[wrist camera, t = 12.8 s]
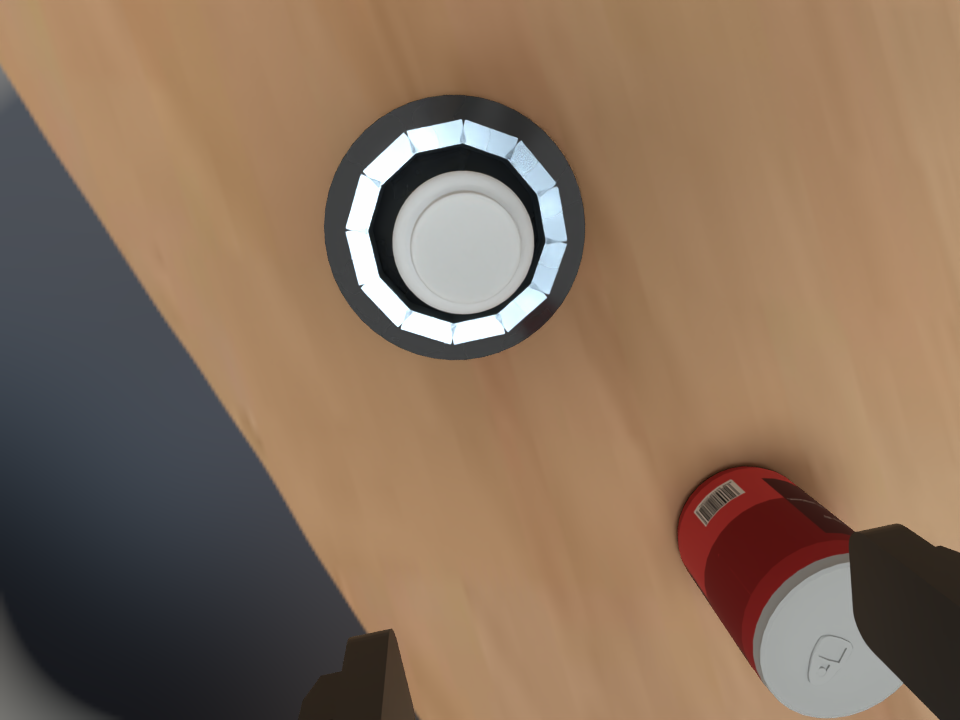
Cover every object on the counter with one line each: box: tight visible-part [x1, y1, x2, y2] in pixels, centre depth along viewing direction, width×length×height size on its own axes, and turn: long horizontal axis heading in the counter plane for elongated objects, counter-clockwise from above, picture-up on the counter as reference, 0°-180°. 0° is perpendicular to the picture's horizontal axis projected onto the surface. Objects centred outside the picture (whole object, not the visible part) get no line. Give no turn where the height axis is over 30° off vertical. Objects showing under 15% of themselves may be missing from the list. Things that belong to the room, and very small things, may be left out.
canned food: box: [678, 466, 903, 718], centre depth 35 cm, size 8×8×11 cm
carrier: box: [324, 95, 585, 360], centre depth 33 cm, size 13×13×4 cm
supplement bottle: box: [392, 171, 534, 314], centre depth 29 cm, size 6×6×10 cm
